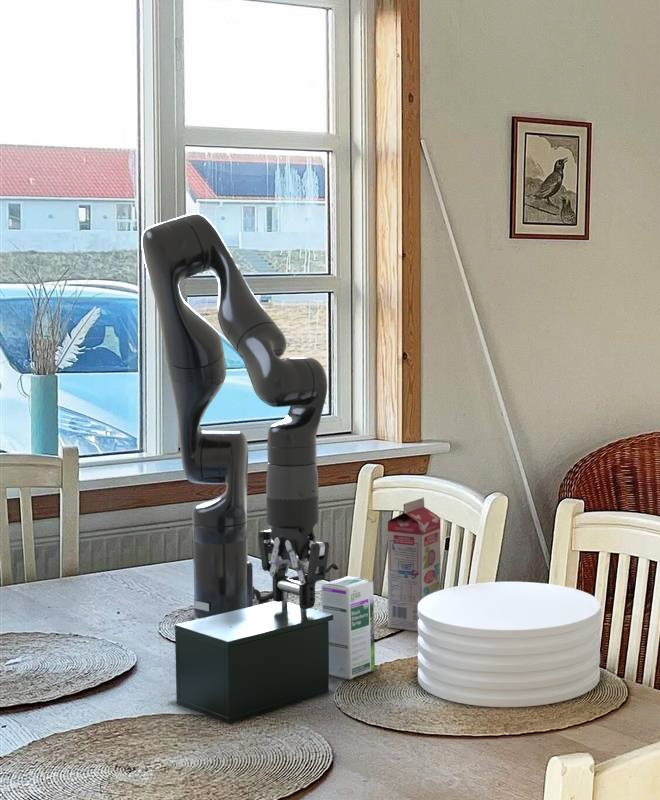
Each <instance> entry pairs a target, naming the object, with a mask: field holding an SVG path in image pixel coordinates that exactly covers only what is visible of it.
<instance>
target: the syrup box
mask: <svg viewBox="0 0 660 800" xmlns="http://www.w3.org/2000/svg"><path fill="white" fill-rule="evenodd" d="M320 586H321V612H325V613H328V614H332V615H333V620H331V621H328V622H329V676H333V677H337V678H340V679H345V680H353V679H354V678H357V677H359V676H362V675H364V674H367V673H370V672H373V671H375V669H376V661H375V659H376V657H375V656H376V655H375V652H376V651H375V609H374V608H375V607H374V606H375V605H374V601H375V600H374V581H373V580H371V579H368V578H364V577H360V576H349V575H346V576H344V577H342V578H338V579H334V580H331V581H327V582H323V583H322V584H321V585H320Z"/></svg>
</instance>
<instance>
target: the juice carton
mask: <svg viewBox="0 0 660 800" xmlns="http://www.w3.org/2000/svg"><path fill="white" fill-rule="evenodd" d="M440 590H441V517H440V516H439V515H438V514H436V513H434V512H433V511H431V510H430V509H429V508H427V507H425V498H424V497H422V498H418V499H415V500H411V501H408V502H405V503H403V513H401V514H399V515H397V516H395V517H393V518H390V520H388V521H387V628H391V629H399V630H407V631H414V632H418V620H419V617H418V603H419V602H420V601H421V600H422V599H423V598H424V597H426V596H427V595H429V594H432V593H434V592H437V591H440Z"/></svg>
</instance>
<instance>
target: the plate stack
mask: <svg viewBox="0 0 660 800" xmlns="http://www.w3.org/2000/svg"><path fill="white" fill-rule="evenodd" d="M601 614H602V605H601V602H600V601H599V599H598V598H596V596H594V595H592V594H590V593H589V592H586V591H583V590H580V589H577V588H573V587H569V586H564V585H558V584H553V583H552V584H551V583H545V582H532V581H489V582H488V581H487V582H478V583H477V582H476V583H469V584H461V585H455V586H452V587H448V588H443V589H440V591H437V592H434V593H432V594H429V595H427V596H426V597H424V598H423V599H422V600H421V601H420V602H419V603H418V617H419V620H418V631H417V633H418V636H417V650H418V652H417V665H418V669H417V682H418V684H419V686H420V687H421V688H422V689H423V690H424V691H425V692H427V693H429V694H431V695H433V696H434V697H438V698H439V699H443V700H446V701H449V702H452V703H453V702H454V703H458V704H463V705H469V706H478V707H487V708H489V707H490V708H524V707H525V708H527V707H535V706H536V707H537V706H544V705H551V704H556V703H562V702H565V701H568V700H572V699H575V698H578V697H581V696H582V695H585V694H587V693H588V692H590V691H592V690H593V689H595V688H596V687H597V686H598V684H599V682H600V680H601V668H600V664H601V651H600V649H601V634H600V633H601V631H602V630H601V629H602V627H601V625H602V622H601V618H600V617H601Z"/></svg>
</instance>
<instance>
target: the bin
mask: <svg viewBox="0 0 660 800" xmlns="http://www.w3.org/2000/svg"><path fill="white" fill-rule="evenodd" d="M174 638H175V639H174V642H175V643H174V646H175V649H174V650H175V691H176V692H175V695H176V696H175V697H176V700H175V701H176V702H175V703H176V704H177V705H180V706H182V707H185V708H187V709H190V710H193V711H196V712H198V713H200V714H202V715H206V716H208V717H211V718H213V719H216V720H219V721H221V722H224V723H225V724H228V725H229V724H232V723H236V722H239V721H243V720H245V719H248V718H252V717H255V716H259V715H261V714H265V713H268V712H272V711H275V710H278V709H281V708H285V707H287V706H291V705H294V704H297V703H301V702H304V701H306V700H309V699H313V698H317V697H319V696H323V695H325V694H329V693H330V675H329V622H328V621H327V622H324V623H320V624H316V625H312V626H308V627H304V628H300V629H297V630H293V631H289V632H285V633H281V634H277V635H273V636H270V637H266V638H262V639H258V640H254V641H250V642H246V643H243V644H239V645H235V646H231V647H225V646H222V645H219V644H216V643H213V642H210V641H207V640H204V639H201V638H198V637H195V636H192V635H189V634H186V633H183V632H180V631H177V630H175V629H174Z"/></svg>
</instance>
